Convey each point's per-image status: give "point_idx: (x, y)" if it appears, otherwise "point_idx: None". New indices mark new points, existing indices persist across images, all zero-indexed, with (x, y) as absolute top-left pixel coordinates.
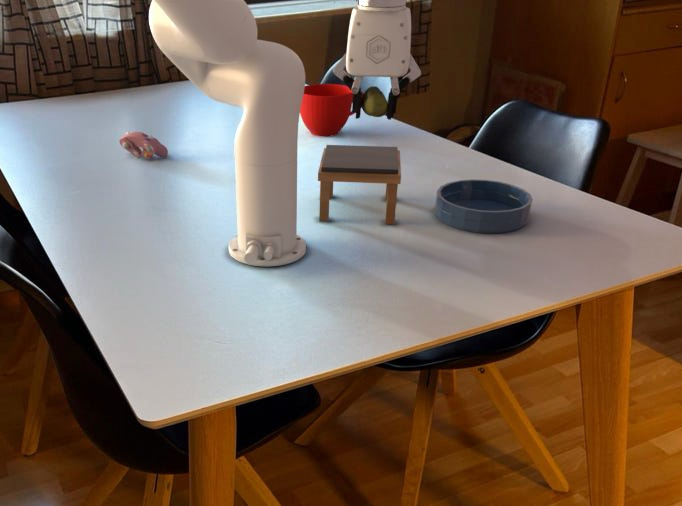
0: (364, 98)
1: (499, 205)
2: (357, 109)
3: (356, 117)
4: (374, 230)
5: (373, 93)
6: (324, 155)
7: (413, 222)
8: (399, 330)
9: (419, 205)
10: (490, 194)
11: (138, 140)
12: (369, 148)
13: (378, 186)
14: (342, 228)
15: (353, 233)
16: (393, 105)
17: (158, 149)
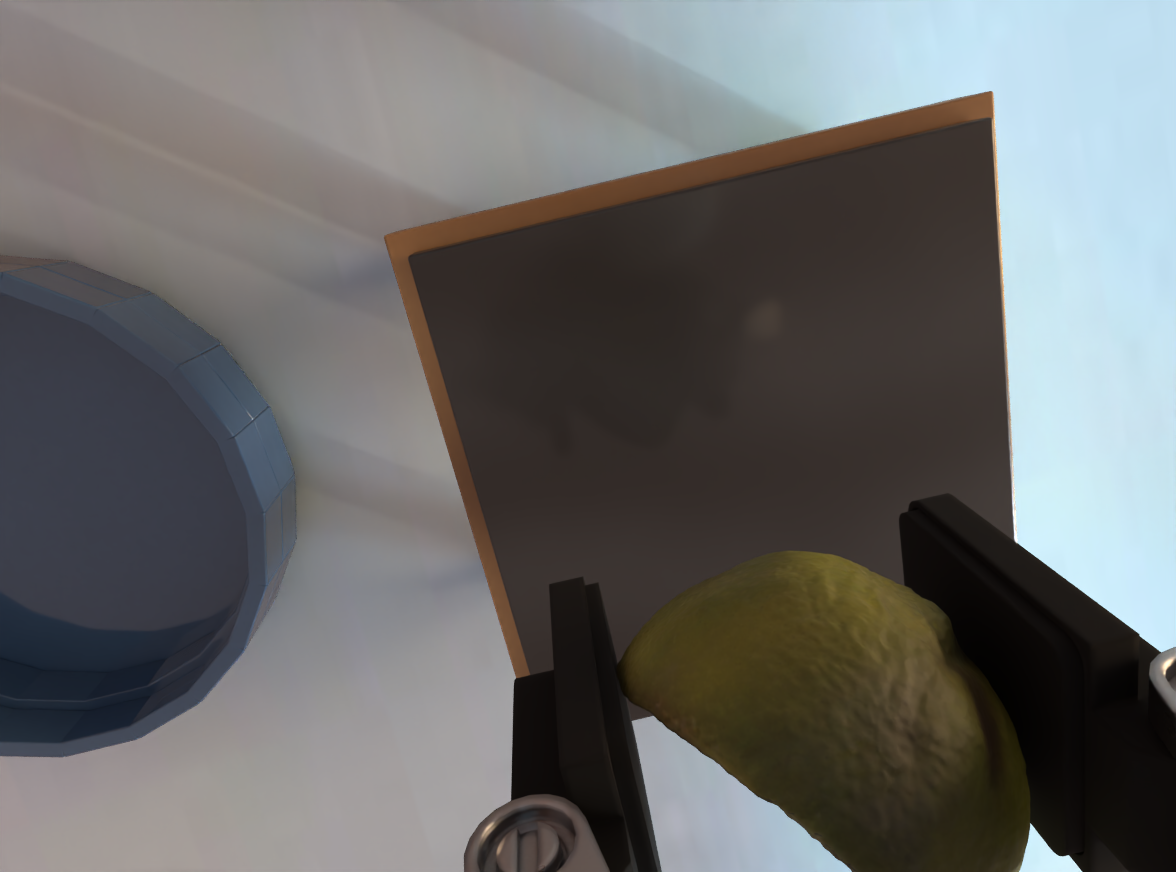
0: (977, 679)
1: (9, 628)
2: (983, 531)
3: (938, 495)
4: (522, 116)
5: (886, 716)
6: (1006, 399)
7: (359, 297)
8: None
9: (394, 525)
10: (58, 689)
11: None
12: None
13: None
14: (690, 85)
15: (618, 33)
16: (550, 718)
17: None
